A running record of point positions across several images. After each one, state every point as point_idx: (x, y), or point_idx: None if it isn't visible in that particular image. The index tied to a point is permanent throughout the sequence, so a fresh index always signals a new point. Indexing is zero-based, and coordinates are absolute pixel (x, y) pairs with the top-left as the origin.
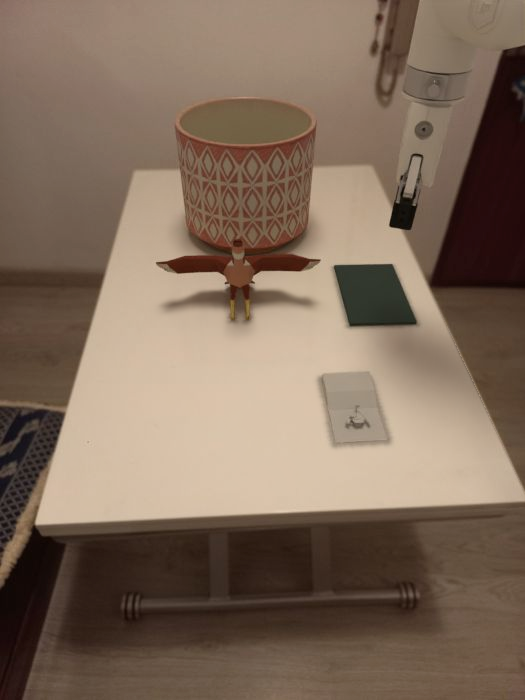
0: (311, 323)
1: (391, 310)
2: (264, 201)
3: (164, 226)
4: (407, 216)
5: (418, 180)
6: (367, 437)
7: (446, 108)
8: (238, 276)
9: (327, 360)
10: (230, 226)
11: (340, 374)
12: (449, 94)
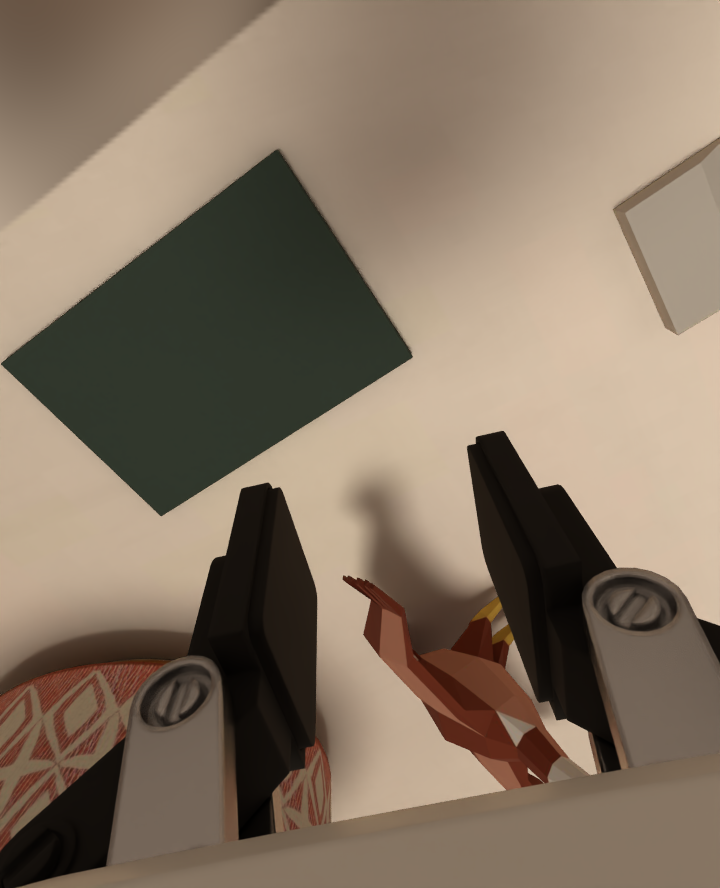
0: (455, 449)
1: (271, 262)
2: None
3: None
4: (591, 534)
5: (231, 753)
6: None
7: None
8: (530, 700)
9: (586, 345)
10: (319, 813)
11: (665, 288)
12: None
